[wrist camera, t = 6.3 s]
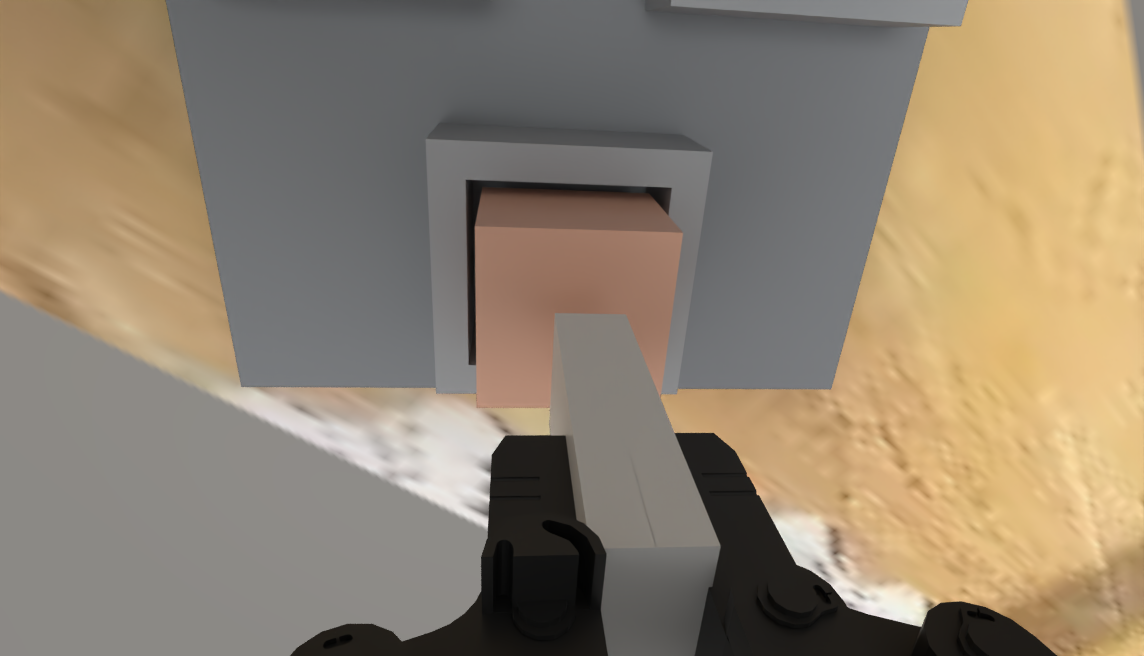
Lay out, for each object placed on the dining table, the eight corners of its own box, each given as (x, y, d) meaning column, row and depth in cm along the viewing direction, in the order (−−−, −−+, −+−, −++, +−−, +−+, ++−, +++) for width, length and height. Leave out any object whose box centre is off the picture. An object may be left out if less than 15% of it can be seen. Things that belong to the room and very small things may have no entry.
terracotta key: (482, 187, 18) (475, 226, 14) (648, 193, 18) (683, 232, 14) (483, 338, 20) (476, 407, 16) (632, 340, 20) (658, 407, 16)
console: (89, -506, 14) (-75, -715, 10) (1014, -373, 16) (1172, -502, 12) (252, 373, 23) (200, 440, 19) (819, 376, 25) (874, 437, 21)
